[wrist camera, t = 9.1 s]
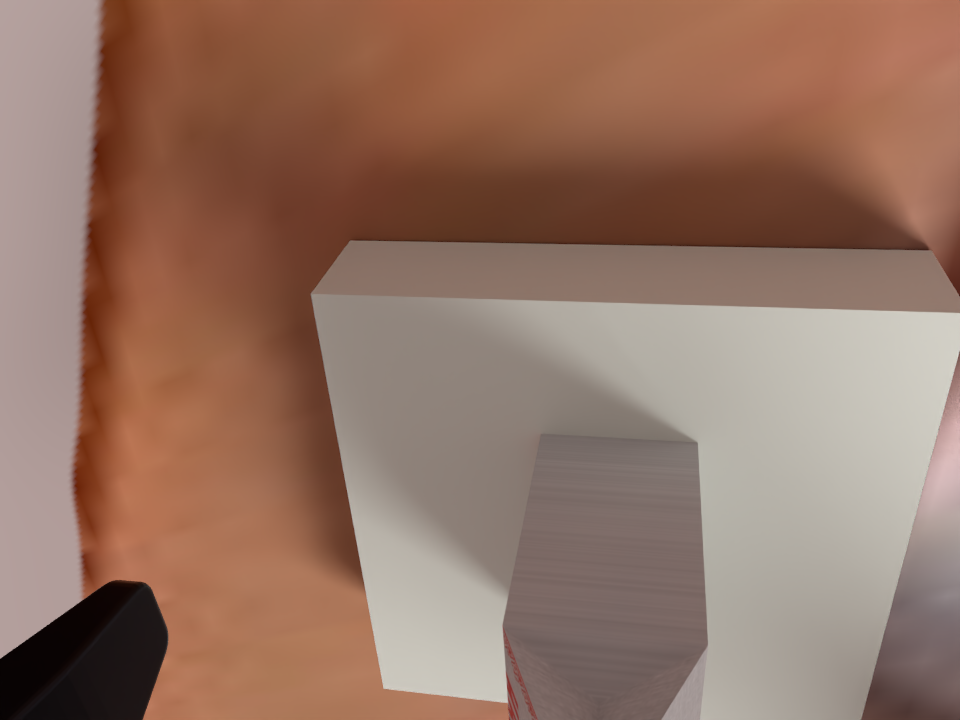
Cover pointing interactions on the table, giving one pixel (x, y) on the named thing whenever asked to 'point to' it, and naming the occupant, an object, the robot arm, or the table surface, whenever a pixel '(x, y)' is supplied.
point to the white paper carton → (608, 584)
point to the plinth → (641, 415)
